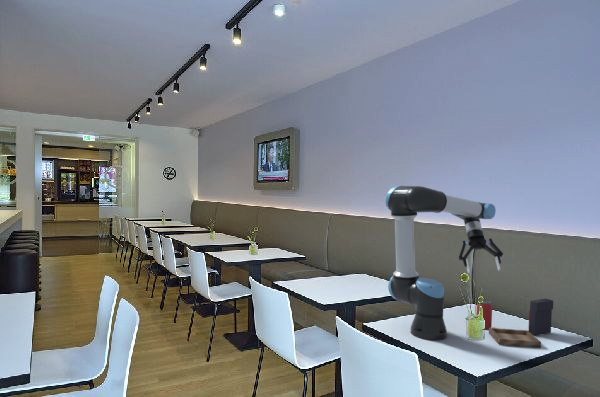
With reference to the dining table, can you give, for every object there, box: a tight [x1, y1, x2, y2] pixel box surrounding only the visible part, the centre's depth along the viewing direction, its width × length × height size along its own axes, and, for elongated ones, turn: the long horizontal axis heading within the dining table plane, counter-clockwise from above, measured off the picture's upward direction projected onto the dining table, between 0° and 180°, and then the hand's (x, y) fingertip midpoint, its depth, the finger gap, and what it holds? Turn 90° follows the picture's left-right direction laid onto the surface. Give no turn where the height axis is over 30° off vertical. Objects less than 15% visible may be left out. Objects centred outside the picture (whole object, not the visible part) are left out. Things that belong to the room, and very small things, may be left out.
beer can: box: [475, 299, 493, 330], centre depth 192 cm, size 7×7×12 cm
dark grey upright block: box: [527, 298, 554, 337], centre depth 186 cm, size 11×4×15 cm, turn 115°
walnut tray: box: [488, 327, 542, 349], centre depth 176 cm, size 16×14×2 cm
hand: (484, 271), depth 198 cm, fingers open, 13 cm apart
